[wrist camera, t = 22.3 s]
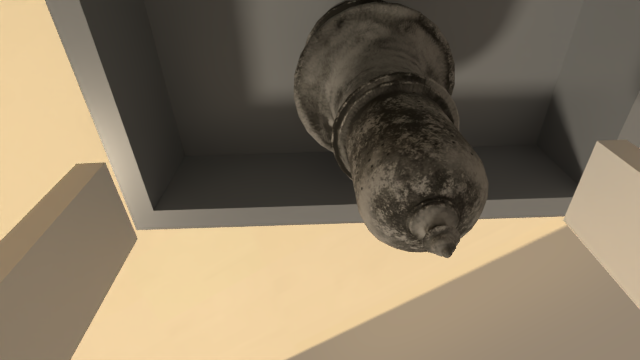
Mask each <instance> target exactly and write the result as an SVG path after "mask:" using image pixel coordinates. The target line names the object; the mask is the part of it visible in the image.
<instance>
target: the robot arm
mask: <svg viewBox="0 0 640 360" xmlns="http://www.w3.org/2000/svg"><path fill="white" fill-rule="evenodd" d="M563 221H564V222H565V223H566V224H567V225H568V226H569V228H570V229H571V230H572V231H573V232H574V233H575V235H576V236H577V237H578V238H579V239H580V240H581V242H582V243H583V244H584V245H585V246H586V247H587V248H588V250H589V251H590V252H591V253H592V254H593V255H594V257H595V258H596V259H597V260H598V261H599V263H600V264H601V265H602V266H603V267H604V268H605V269H606V271H607V272H608V273H609V274H610V275H611V276H612V278H613V279H614V280H615V281H616V282H617V283H618V285H619V286H620V287H621V288H622V289H623V290H624V291H625V293H626V294H627V295H628V296H629V297H630V299H631V300H632V301H633V302H634V303H635V304H636V306H637V307H638V308H639V309H640V149H639V148H638V147H636V146H635V145H633V144H632V143H630V142H629V141H627V140H626V139H625V140H602V141H597V142H596V144H595V147H594V149H593V151H592V154H591V156H590V158H589V161H588V163H587V165H586V168H585V170H584V172H583V175H582V177H581V179H580V182H579V184H578V186H577V189H576V191H575V193H574V196H573V198H572V200H571V203H570V205H569V207H568V210H567V212H566V214H565V217H564V219H563ZM136 240H137V236H136V234H135V232H134V229H133V227H132V225H131V222H130V220H129V217H128V215H127V213H126V210H125V208H124V206H123V203H122V201H121V199H120V196H119V194H118V192H117V189H116V187H115V185H114V182H113V180H112V178H111V175H110V173H109V171H108V168H107V166H106V163H84V164H76V165H75V166H74V167H73V168H72V169H71V170H70V171H69V172H68V173H67V174H66V175H65V176H64V177H63V178H62V179H61V180H60V181H59V182H58V183H57V184H56V185H55V186H54V187H53V188H52V189H51V190H50V191H49V192H48V193H47V194H46V195H45V196H44V197H43V198H42V199H41V200H40V202H39V203H38V204H37V205H36V206H35V207H34V208H33V209H32V210H31V211H30V212H29V213H28V214H27V215H26V216H25V217H24V218H23V219H22V220H21V221H20V222H19V223H18V224H17V225H16V226H15V227H14V228H13V229H12V230H11V231H10V232H9V233H8V234H7V235H6V236H5V237H4V238H3V239H2V240H1V241H0V360H71V358H72V356H73V354H74V352H75V350H76V349H77V347H78V345H79V343H80V341H81V340H82V338H83V336H84V334H85V332H86V331H87V329H88V327H89V325H90V323H91V322H92V320H93V318H94V316H95V314H96V313H97V311H98V309H99V307H100V305H101V304H102V302H103V300H104V298H105V296H106V295H107V293H108V291H109V289H110V287H111V286H112V284H113V282H114V280H115V278H116V276H117V275H118V273H119V271H120V269H121V267H122V266H123V264H124V262H125V260H126V258H127V257H128V255H129V253H130V251H131V249H132V248H133V246H134V244H135V242H136Z"/></svg>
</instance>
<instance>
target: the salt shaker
mask: <svg viewBox="0 0 640 360" xmlns="http://www.w3.org/2000/svg"><path fill="white" fill-rule="evenodd" d="M454 85H455V63H454V60H453V56H452V53H451V49H450V46H449V43H448V42H447V40H446V39H445V37H444V35H443V34H442V32H441V31H440V29H439V28H438V26H437V25H436V24H434V23H433V22H432V21H431V20H429V19H428V18H427V17H426V16H424V15H423V14H422V13H421V12H419V11H417V10H414V9H412V8H409V7H406V6H404V5H401V4H399V3H388V2H385V1H383V0H349V1H345V2H343V3H341V4H339V5H337V6H335V7H333V8H332V9H330V10H329V11H327V12H326V13H325V14H324V15H323V16H322V17H321V18H320V19H319V20H318V21H317V22H316V24H315V25H314V27H313V29H312V30H311V32H310V33H309V35H308V37H307V41H306V44H305V47H304V49H303V51H302V52H301V54H300V58H299V61H298V64H297V67H296V71H295V74H294V100H295V104H296V108H297V112H298V116H299V118H300V119H301V121H302V123H303V125H304V126H305V128H306V130H307V132H308V133H309V134H310V135H311V136H312V137H313V138H314V139H315V140H316V141H317V142H318V143H319V144H320V145H321V146H323V147H325V148H326V149H328V150H330V151H332V152H333V153H334V157H335V159H336V161H337V163H338V165H339V166H340V168H341V170H342V171H343V172H344V173H345V174H346V175H347V176H348V177H349V178H350V179H351V180H353V185H354V190H355V196H356V201H357V206H358V211H359V214H360V215H361V217H362V219H363V221H364V223H365V225H366V226H367V228H368V230H369V231H370V232H371V233H372V234H373V235H374V236H375V237H376V238H377V239H378V240H380V241H382V242H384V243H385V244H387V245H389V246H391V247H394V248H397V249H400V250H404V251H408V252H427V251H428V252H430V253H434V254H436V255H439V256H444V257H446V258H449V257H450V256H451V255H452V253H453V252H454V250H455V249H456V246H457V244H458V243H459V241H460V238H462V237H463V236H464V235H465V234H466V233H467V232H468V231H470V230H471V229H472V227H473V226H474V225H475V223H476V222H477V220H478V219H479V217H480V215H481V213H482V211H483V209H484V206H485V203H486V201H487V198H488V185H489V183H488V180H487V176H486V173H485V169H484V166H483V163H482V161H481V159H480V158H479V156H478V155H477V154H476V152H475V151H474V149H473V148H472V147H471V146H470V144H469V143H468V142H467V141H466V139H465V138H464V137H463V136H462V134H461V133H460V132H459V115H458V111H457V108H456V104H455V102H454V101H453V99H452V98H451V96H452V93H453V89H454Z"/></svg>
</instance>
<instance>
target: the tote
mask: <svg viewBox="0 0 640 360" xmlns="http://www.w3.org/2000/svg"><path fill="white" fill-rule="evenodd" d="M45 1H46V4H47V6H48V9H49V11H50V14H51V16H52V19H53V22H54V24H55V27H56V29H57V32H58V34H59V37H60V39H61V42H62V44H63V47H64V49H65V52H66V54H67V57H68V59H69V62H70V64H71V67H72V69H73V72H74V74H75V77H76V79H77V82H78V84H79V87H80V89H81V92H82V94H83V97H84V99H85V102H86V104H87V107H88V109H89V112H90V114H91V117H92V119H93V122H94V124H95V127H96V129H97V132H98V134H99V137H100V139H101V142H102V144H103V147H104V149H105V152H106V154H107V157H108V159H109V162H110V164H111V167H112V169H113V172H114V174H115V177H116V179H117V182H118V184H119V187H120V189H121V192H122V194H123V197H124V199H125V202H126V204H127V207H128V210H129V212H130V215H131V217H132V220H133V222H134V225H135V227H136V230H150V229H181V228H212V227H244V226H275V225H306V224H338V223H364V221H363V219H362V217H361V215H360V214H359V211H358V206H357V201H356V196H355V190H354V185H353V180H351V179H350V178H349V177H348V176H347V175H346V174H345V173H344V172H343V171H342V170H341V168H340V166H339V165H338V163H337V161H336V159H335V157H334V153H333V152H332V151H330V150H328V149H326V148H325V147H323V146H321V145H320V144H319V143H318V142H317V141H316V140H315V139H314V138H313V137H312V136H311V135H310V134H309V133H308V132H307V130H306V128H305V126H304V125H303V123H302V121H301V119H300V118H299V116H298V112H297V108H296V104H295V100H294V74H295V71H296V67H297V64H298V61H299V58H300V54H301V52H302V51H303V49H304V47H305V44H306V41H307V37H308V35H309V33H310V32H311V30H312V29H313V27H314V25H315V24H316V22H317V21H318V20H319V19H320V18H321V17H322V16H323V15H324V14H325V13H326V12H327V11H329V10H330V9H332V8H333V7H335V6H337V5H339V4H341V3H343V2H345V1H349V0H45ZM383 1H385V2H388V3H399V4H401V5H404V6H406V7H409V8H412V9H414V10H417V11H419V12H421V13H422V14H423V15H424V16H426V17H427V18H428V19H429V20H431V21H432V22H433V23H434V24H436V25H437V26H438V28H439V29H440V31H441V32H442V34H443V35H444V37H445V39H446V40H447V42H448V43H449V46H450V49H451V53H452V56H453V60H454V63H455V85H454V89H453V93H452V96H451V98H452V99H453V101H454V102H455V104H456V108H457V111H458V115H459V132H460V133H461V134H462V136H463V137H464V138H465V139H466V141H467V142H468V143H469V144H470V146H471V147H472V148H473V149H474V151H475V152H476V154H477V155H478V156H479V158H480V159H481V161H482V163H483V166H484V169H485V173H486V176H487V180H488V183H489V185H488V198H487V201H486V203H485V206H484V209H483V211H482V213H481V215H480V217H479V219H495V218H526V217H557V216H565V214H566V212H567V210H568V207H569V205H570V203H571V200H572V198H573V196H574V193H575V191H576V189H577V186H578V184H579V182H580V179H581V177H582V175H583V172H584V170H585V168H586V165H587V163H588V161H589V158H590V156H591V154H592V151H593V149H594V147H595V144H596V142H597V141H602V140H625V139H626V140H627V141H629V142H630V143H632V144H633V145H635V146H636V147H638V148H640V0H383Z"/></svg>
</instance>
